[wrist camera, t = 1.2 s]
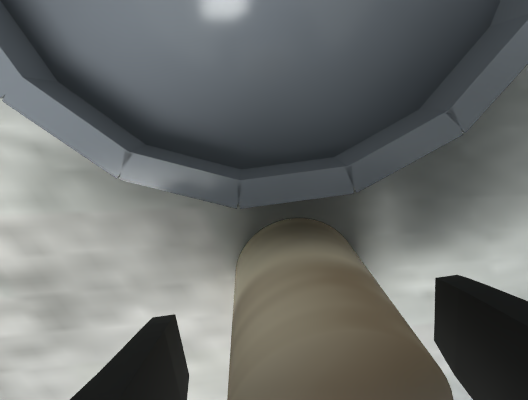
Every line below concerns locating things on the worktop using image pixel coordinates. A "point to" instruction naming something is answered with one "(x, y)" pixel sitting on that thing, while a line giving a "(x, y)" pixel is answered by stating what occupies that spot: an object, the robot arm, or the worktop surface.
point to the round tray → (258, 87)
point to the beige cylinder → (320, 324)
